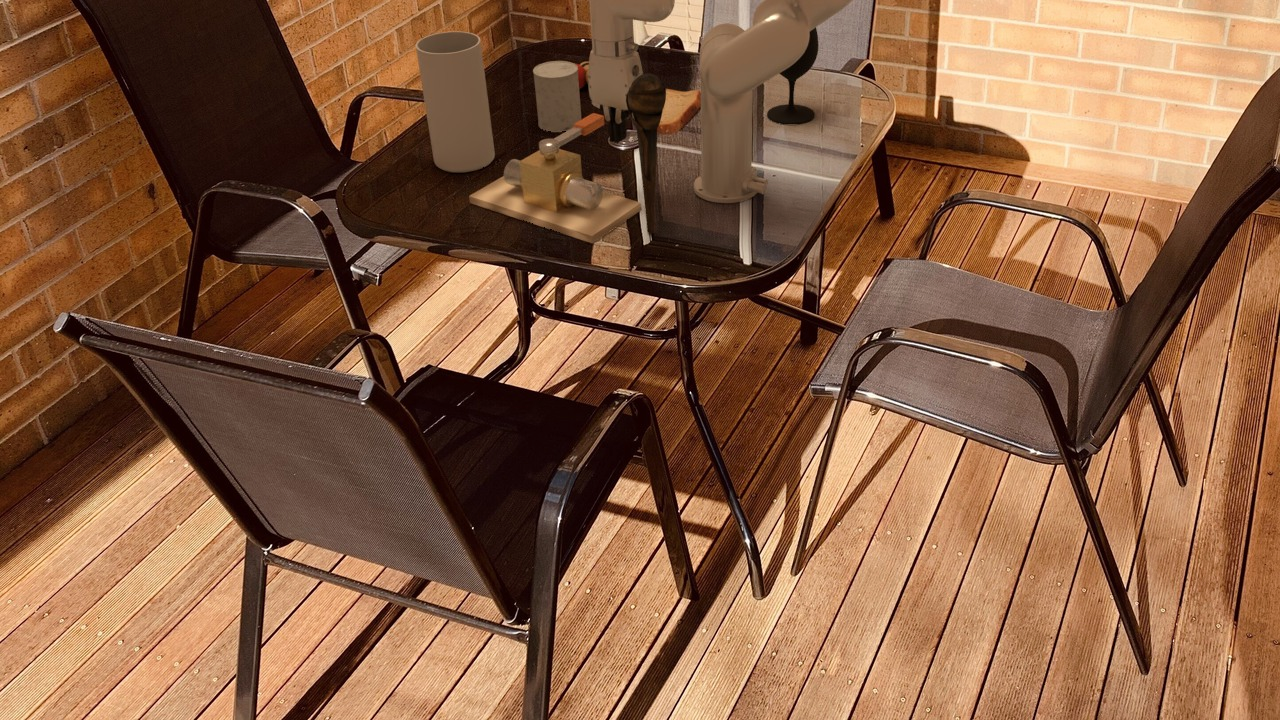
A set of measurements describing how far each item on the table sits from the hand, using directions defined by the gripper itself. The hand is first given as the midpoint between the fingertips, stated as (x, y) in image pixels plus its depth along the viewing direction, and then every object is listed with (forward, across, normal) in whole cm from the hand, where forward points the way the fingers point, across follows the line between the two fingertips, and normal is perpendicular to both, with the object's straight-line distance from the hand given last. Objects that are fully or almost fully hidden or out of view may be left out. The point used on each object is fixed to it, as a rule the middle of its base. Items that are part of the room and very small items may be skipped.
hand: (618, 139), depth 214 cm
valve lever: (-1, +7, +5) cm, 9 cm away
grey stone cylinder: (+11, +31, -19) cm, 38 cm away
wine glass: (+11, -10, -48) cm, 50 cm away
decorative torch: (+11, -15, +11) cm, 22 cm away
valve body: (+9, +7, +12) cm, 17 cm away
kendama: (+11, +37, -42) cm, 57 cm away
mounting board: (+11, +7, +12) cm, 17 cm away
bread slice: (+11, +12, -36) cm, 40 cm away
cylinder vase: (+11, +36, +6) cm, 38 cm away
